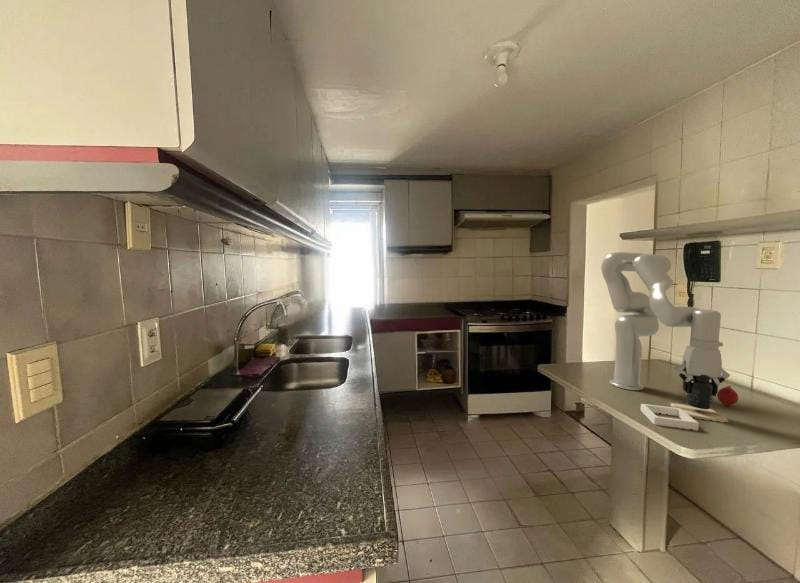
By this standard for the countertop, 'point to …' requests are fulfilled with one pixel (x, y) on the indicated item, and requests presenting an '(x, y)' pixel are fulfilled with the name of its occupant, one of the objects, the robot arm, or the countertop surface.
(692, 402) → the supplement bottle
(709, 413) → the board
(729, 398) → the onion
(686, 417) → the white square frame
